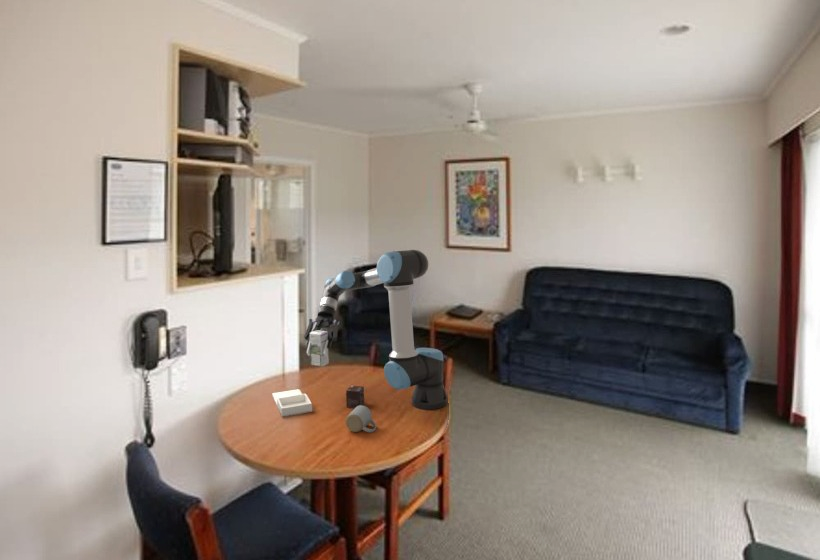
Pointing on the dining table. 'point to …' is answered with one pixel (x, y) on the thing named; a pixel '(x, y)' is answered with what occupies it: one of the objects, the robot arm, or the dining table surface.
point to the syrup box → (318, 348)
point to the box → (355, 396)
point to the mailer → (292, 402)
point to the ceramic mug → (360, 419)
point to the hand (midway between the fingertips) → (316, 354)
